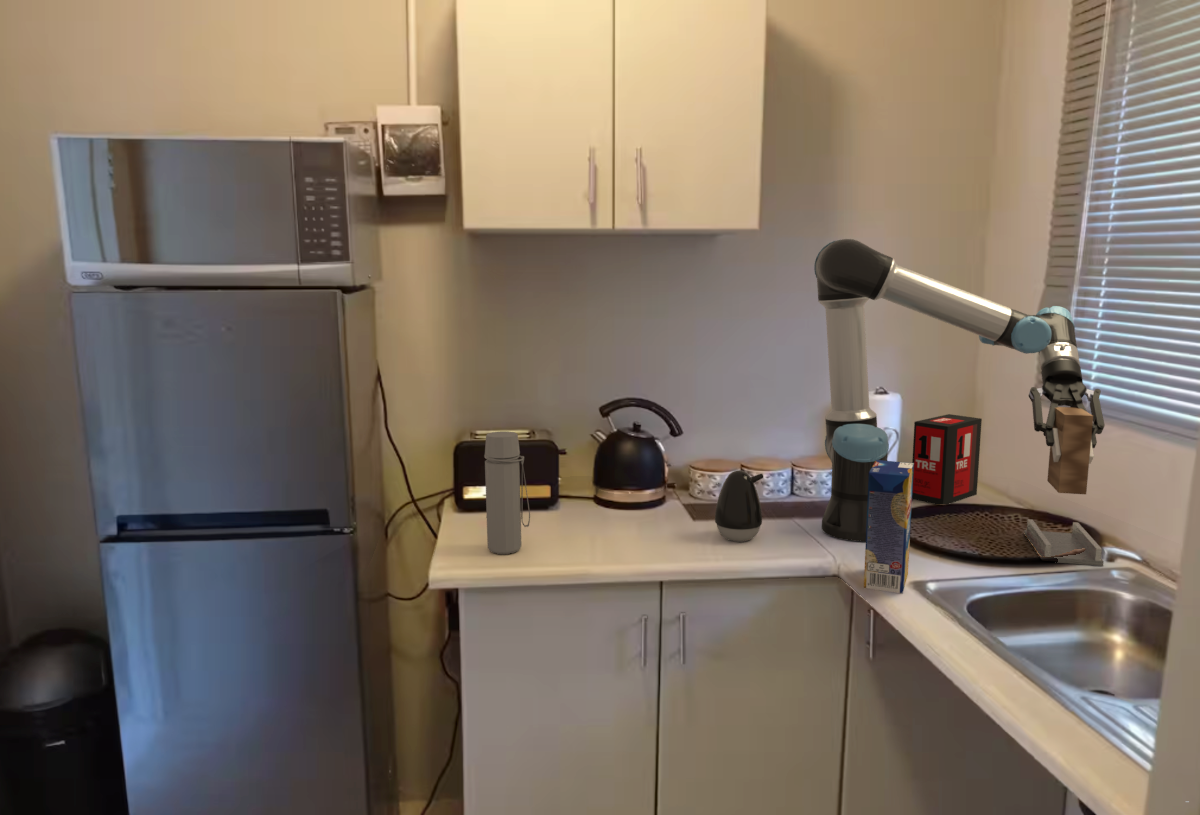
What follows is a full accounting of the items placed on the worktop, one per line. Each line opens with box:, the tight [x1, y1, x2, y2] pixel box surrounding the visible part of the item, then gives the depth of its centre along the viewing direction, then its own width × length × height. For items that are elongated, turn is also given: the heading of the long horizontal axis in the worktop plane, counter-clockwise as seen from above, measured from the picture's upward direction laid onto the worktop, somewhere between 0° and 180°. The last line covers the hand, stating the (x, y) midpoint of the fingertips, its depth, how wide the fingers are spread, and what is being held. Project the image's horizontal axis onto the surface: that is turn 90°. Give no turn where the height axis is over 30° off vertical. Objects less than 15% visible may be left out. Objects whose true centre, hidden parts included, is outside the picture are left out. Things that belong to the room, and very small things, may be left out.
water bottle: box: [483, 430, 531, 555], centre depth 179 cm, size 9×8×25 cm
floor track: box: [1023, 519, 1105, 567], centre depth 178 cm, size 11×18×4 cm, turn 164°
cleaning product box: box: [911, 413, 983, 505], centre depth 218 cm, size 16×9×20 cm, turn 129°
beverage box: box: [863, 460, 914, 594], centre depth 160 cm, size 7×11×22 cm, turn 156°
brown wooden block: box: [1047, 406, 1093, 495], centre depth 175 cm, size 5×10×16 cm, turn 164°
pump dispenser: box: [714, 470, 764, 543], centre depth 187 cm, size 10×10×15 cm
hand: (1073, 459), depth 172 cm, fingers closed on brown wooden block, 5 cm apart
